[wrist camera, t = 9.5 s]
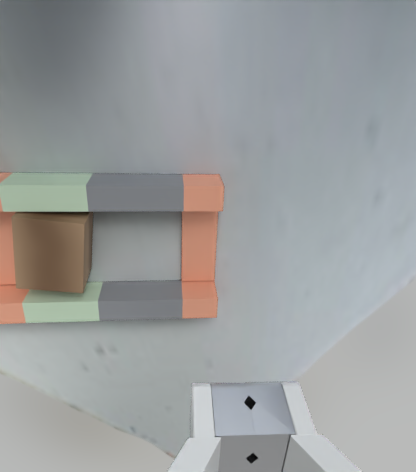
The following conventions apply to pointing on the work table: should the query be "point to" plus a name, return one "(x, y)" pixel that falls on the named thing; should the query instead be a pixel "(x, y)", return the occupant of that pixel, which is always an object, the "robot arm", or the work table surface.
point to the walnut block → (52, 250)
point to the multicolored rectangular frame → (116, 199)
